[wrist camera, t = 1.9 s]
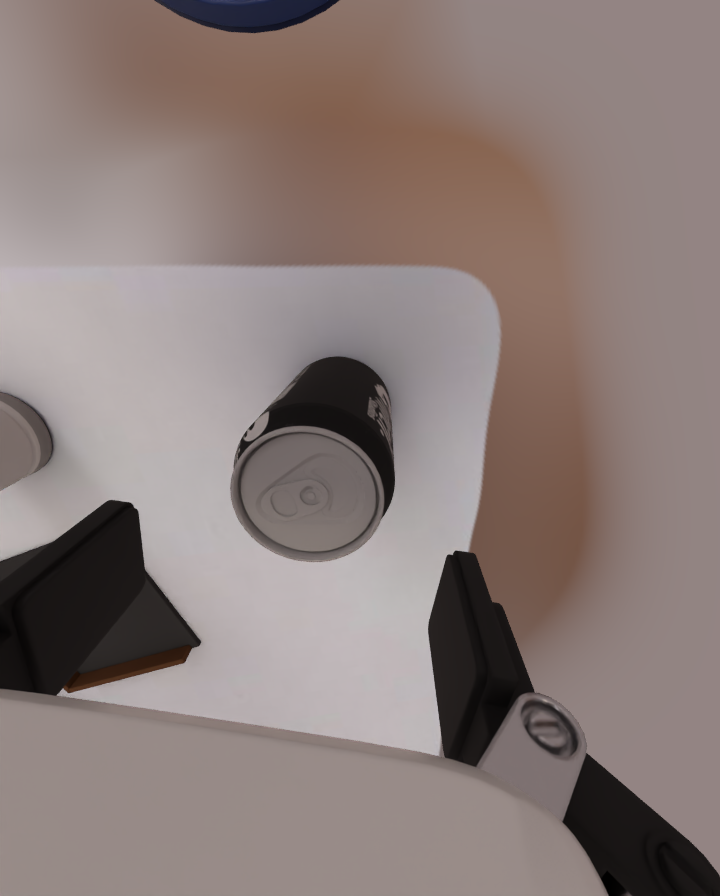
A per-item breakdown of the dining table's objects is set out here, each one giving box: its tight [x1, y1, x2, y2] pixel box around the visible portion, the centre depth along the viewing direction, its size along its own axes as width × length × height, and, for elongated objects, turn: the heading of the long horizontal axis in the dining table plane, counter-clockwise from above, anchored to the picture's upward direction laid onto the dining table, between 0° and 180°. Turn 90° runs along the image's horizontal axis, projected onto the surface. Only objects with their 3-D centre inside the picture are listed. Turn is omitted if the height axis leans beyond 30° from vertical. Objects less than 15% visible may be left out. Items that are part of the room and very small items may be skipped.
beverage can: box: [230, 357, 395, 562], centre depth 19 cm, size 7×7×12 cm
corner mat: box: [0, 543, 201, 693], centre depth 33 cm, size 14×14×2 cm
